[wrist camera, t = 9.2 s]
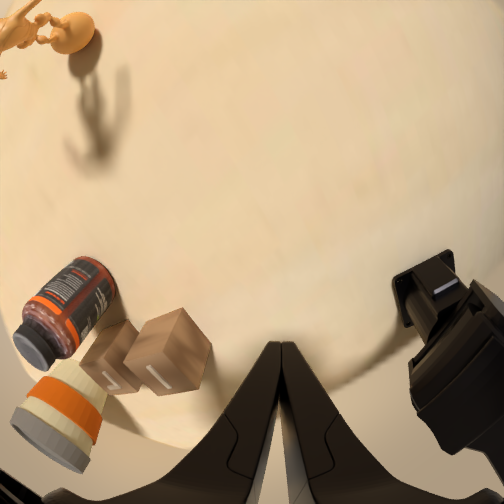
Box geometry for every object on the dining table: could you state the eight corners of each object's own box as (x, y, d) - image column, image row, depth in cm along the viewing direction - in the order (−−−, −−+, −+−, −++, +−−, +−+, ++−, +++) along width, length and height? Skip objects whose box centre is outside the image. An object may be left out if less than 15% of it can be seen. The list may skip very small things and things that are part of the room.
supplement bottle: (64, 255, 24) (-6, 318, 13) (105, 251, 23) (29, 326, 13) (84, 303, 26) (28, 373, 16) (125, 304, 25) (69, 387, 15)
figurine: (108, -6, 12) (19, -47, 1) (141, 22, 14) (41, -29, 3) (50, 62, 15) (-49, 60, 4) (75, 95, 17) (-38, 103, 6)
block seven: (157, 353, 28) (139, 395, 23) (130, 360, 29) (110, 398, 24) (128, 319, 26) (102, 359, 21) (102, 330, 28) (77, 366, 22)
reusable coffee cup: (122, 380, 32) (81, 467, 18) (115, 411, 37) (86, 479, 23) (50, 335, 30) (-2, 407, 16) (56, 376, 35) (19, 436, 22)
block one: (212, 344, 27) (199, 392, 21) (175, 355, 28) (159, 399, 22) (182, 306, 25) (161, 353, 19) (146, 321, 26) (122, 363, 21)
